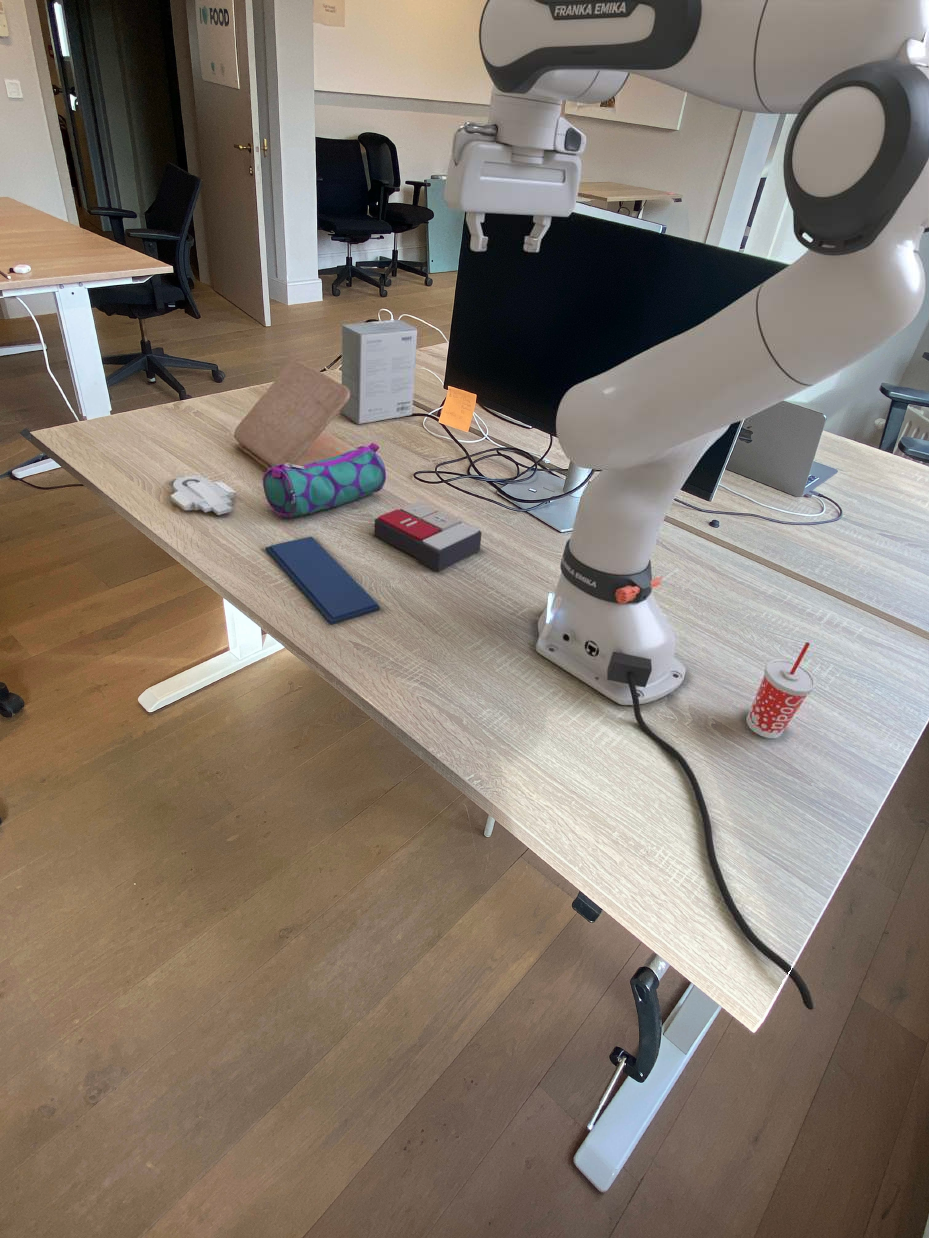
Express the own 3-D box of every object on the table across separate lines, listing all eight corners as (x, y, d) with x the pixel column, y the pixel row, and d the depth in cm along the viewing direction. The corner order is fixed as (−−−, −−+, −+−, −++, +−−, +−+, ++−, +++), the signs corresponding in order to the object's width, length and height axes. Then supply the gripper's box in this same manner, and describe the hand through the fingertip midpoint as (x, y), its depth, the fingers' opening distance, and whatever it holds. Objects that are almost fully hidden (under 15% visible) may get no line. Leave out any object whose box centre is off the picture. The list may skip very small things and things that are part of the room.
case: (230, 446, 140) (223, 365, 130) (319, 429, 152) (320, 354, 142) (283, 487, 128) (280, 402, 119) (375, 465, 141) (379, 387, 131)
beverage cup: (743, 736, 90) (787, 653, 81) (737, 705, 94) (777, 623, 86) (791, 747, 89) (840, 664, 81) (782, 714, 94) (827, 633, 86)
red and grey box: (418, 497, 124) (483, 527, 116) (417, 519, 126) (480, 550, 119) (373, 515, 117) (439, 548, 109) (373, 538, 119) (437, 572, 111)
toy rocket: (251, 509, 120) (250, 497, 119) (199, 525, 114) (197, 512, 113) (202, 475, 128) (200, 463, 127) (151, 487, 122) (149, 475, 121)
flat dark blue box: (379, 609, 102) (380, 604, 101) (330, 624, 98) (330, 619, 97) (311, 539, 115) (311, 534, 115) (265, 549, 111) (265, 545, 110)
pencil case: (291, 529, 117) (290, 477, 111) (262, 508, 121) (260, 456, 116) (387, 500, 130) (390, 451, 124) (358, 481, 134) (359, 434, 128)
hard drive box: (394, 405, 170) (400, 319, 158) (413, 416, 165) (420, 328, 154) (339, 413, 161) (341, 323, 149) (357, 425, 157) (360, 333, 145)
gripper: (471, 122, 80) (457, 255, 88) (596, 139, 91) (573, 257, 99) (440, 116, 83) (429, 245, 92) (563, 134, 94) (544, 247, 102)
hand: (505, 251), depth 95 cm, fingers open, 8 cm apart
